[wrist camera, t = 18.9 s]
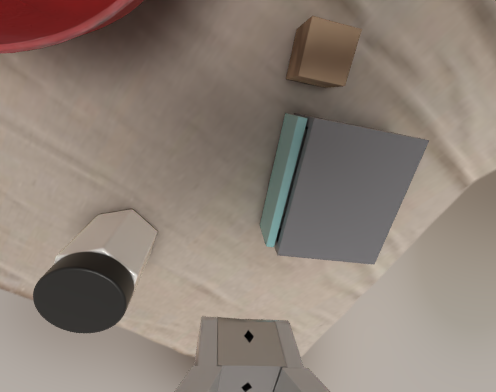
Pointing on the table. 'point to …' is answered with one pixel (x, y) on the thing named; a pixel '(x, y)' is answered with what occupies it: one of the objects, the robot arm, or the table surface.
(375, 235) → the grey drawer box
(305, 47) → the walnut block
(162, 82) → the table surface
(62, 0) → the mixing bowl
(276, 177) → the tray
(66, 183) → the table surface
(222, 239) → the table surface
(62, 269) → the jar
